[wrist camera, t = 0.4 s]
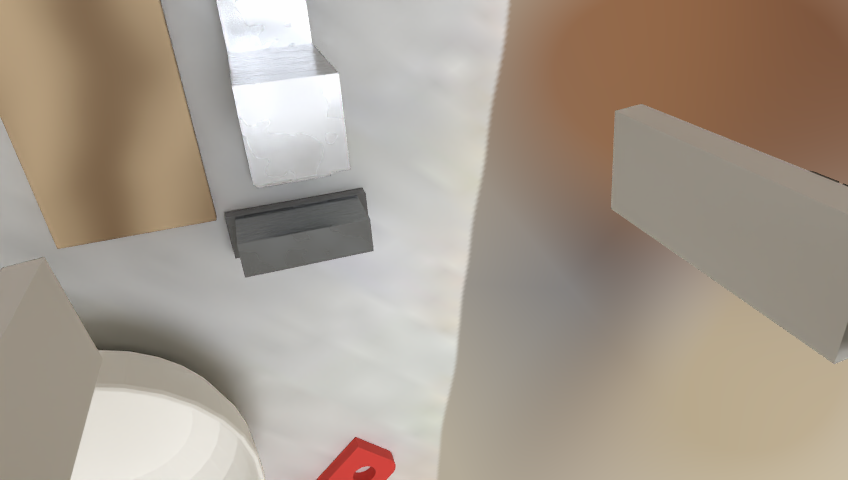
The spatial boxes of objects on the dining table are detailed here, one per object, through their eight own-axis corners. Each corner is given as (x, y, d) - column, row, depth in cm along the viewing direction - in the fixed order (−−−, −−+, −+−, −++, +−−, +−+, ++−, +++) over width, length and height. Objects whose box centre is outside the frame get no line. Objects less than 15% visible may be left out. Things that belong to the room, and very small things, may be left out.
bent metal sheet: (254, 174, 32) (267, 249, 24) (212, -20, 27) (212, -2, 19) (324, 163, 33) (358, 231, 25) (297, -27, 28) (328, -12, 20)
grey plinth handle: (235, 251, 33) (237, 287, 30) (138, -132, 24) (126, -143, 21) (366, 226, 35) (382, 256, 32) (325, -138, 26) (341, -149, 23)
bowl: (291, 327, 37) (307, 404, 31) (219, 521, 43) (220, 617, 37) (-54, 275, 29) (-124, 365, 23) (-85, 523, 35) (-147, 646, 29)
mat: (60, 243, 30) (57, 248, 30) (-66, -53, 23) (-73, -52, 23) (216, 215, 32) (216, 220, 31) (143, -65, 25) (141, -65, 25)
